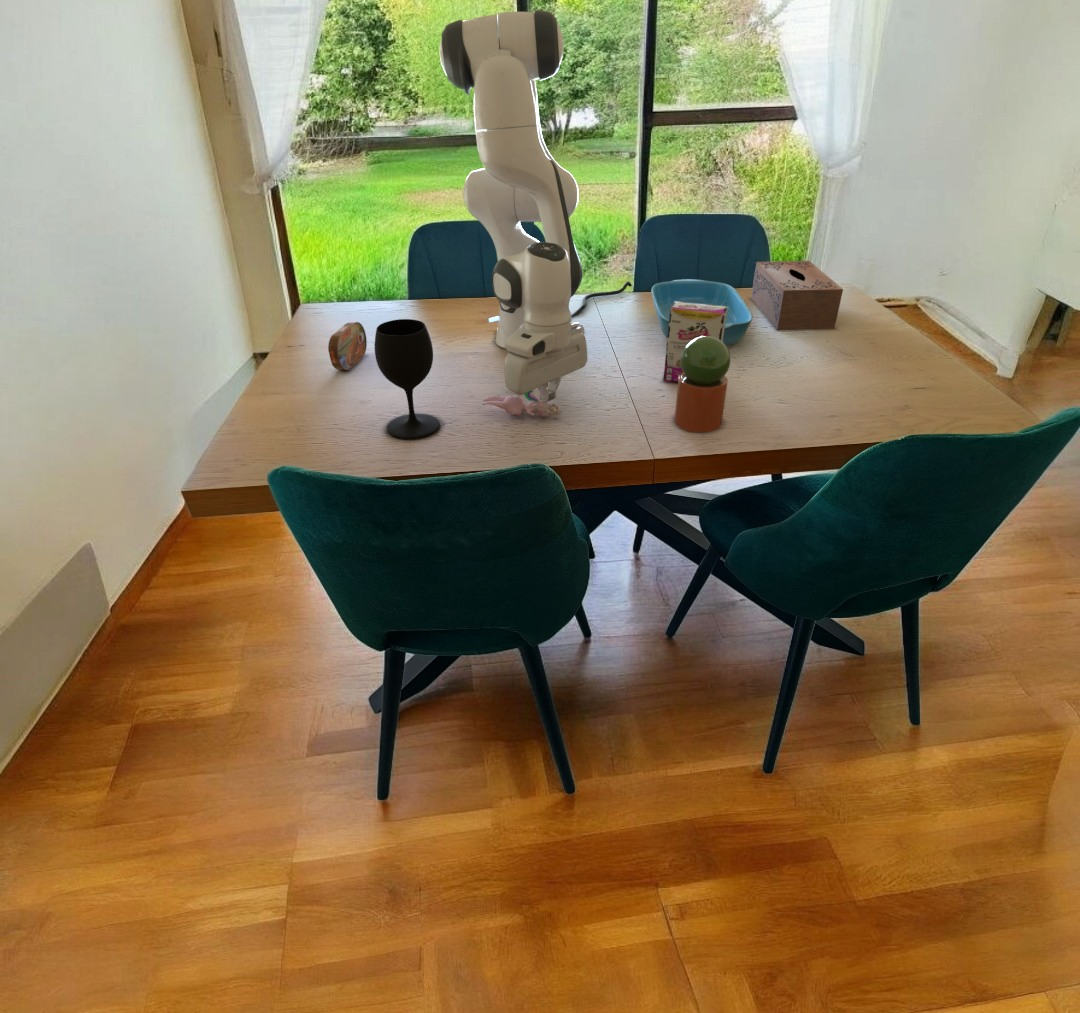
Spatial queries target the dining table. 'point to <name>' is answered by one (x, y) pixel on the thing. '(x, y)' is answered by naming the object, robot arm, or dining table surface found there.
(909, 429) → the dining table surface
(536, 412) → the rabbit figure
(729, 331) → the casserole dish
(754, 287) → the tissue box cover
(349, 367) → the tin
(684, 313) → the candy bar box
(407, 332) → the wine glass
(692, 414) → the potted herb
